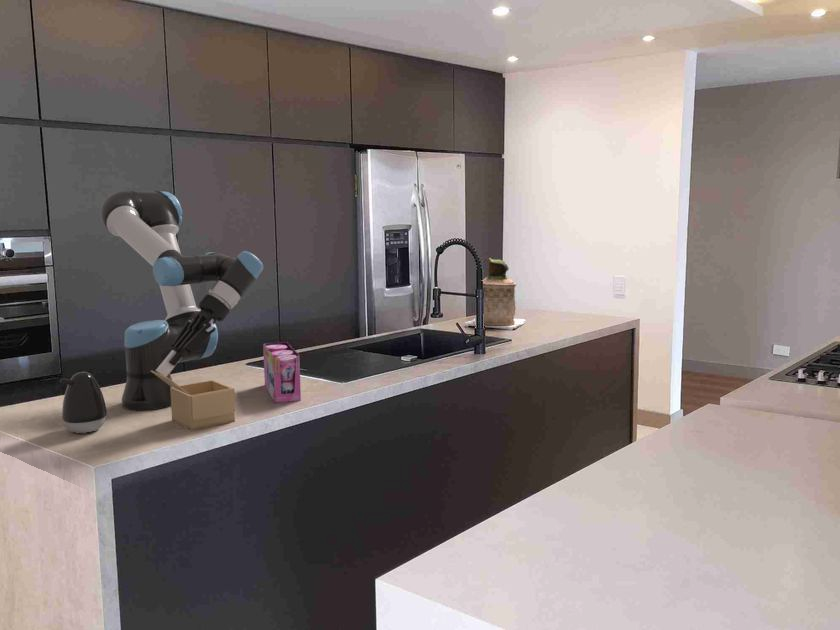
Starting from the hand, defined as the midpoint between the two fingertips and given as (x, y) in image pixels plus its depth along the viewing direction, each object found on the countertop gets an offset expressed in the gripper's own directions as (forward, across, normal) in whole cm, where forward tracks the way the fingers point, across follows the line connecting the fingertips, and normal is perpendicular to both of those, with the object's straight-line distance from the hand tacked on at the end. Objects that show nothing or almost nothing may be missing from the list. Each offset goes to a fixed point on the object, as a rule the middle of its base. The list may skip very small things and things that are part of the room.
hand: (160, 373), depth 180 cm
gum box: (-19, +12, -40) cm, 46 cm away
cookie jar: (-118, +53, -141) cm, 191 cm away
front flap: (0, 0, -3) cm, 3 cm away
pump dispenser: (+21, +12, +1) cm, 24 cm away
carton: (+3, 0, -18) cm, 18 cm away
